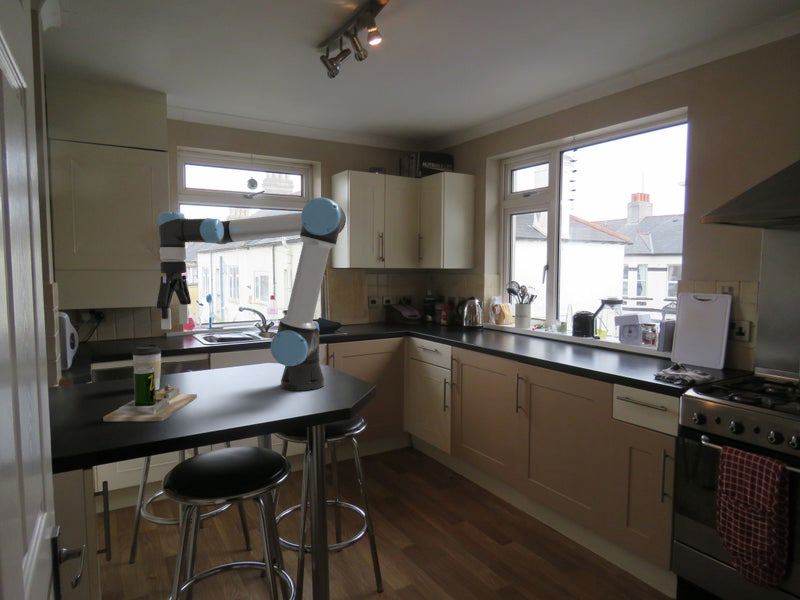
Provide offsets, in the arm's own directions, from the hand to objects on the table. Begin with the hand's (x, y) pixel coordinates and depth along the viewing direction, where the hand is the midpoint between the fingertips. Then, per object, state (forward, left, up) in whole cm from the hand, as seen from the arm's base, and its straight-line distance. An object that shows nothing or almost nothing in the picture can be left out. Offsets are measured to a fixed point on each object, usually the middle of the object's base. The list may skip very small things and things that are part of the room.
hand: (175, 326), depth 165 cm
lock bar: (0, +8, -21) cm, 23 cm away
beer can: (0, +21, -22) cm, 30 cm away
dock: (0, +16, -23) cm, 28 cm away
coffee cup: (+13, -7, -23) cm, 27 cm away
